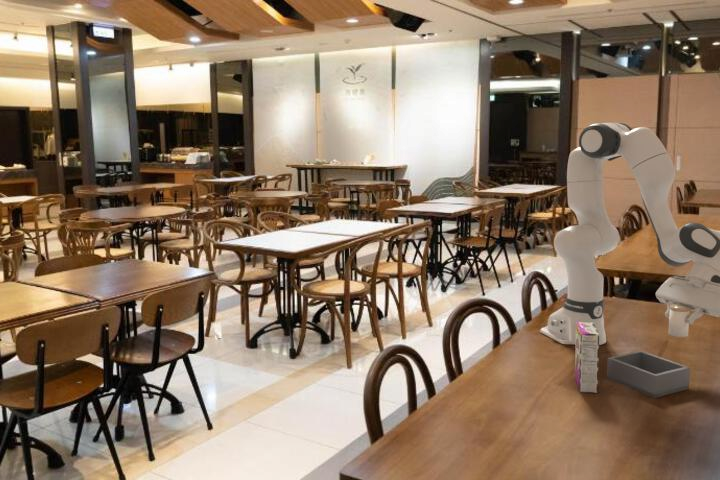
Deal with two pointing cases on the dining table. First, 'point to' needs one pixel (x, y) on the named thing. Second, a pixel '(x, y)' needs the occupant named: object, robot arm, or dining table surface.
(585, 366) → the candy bar box
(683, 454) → the dining table surface
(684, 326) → the jar
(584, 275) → the robot arm
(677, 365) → the tote
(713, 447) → the dining table surface
